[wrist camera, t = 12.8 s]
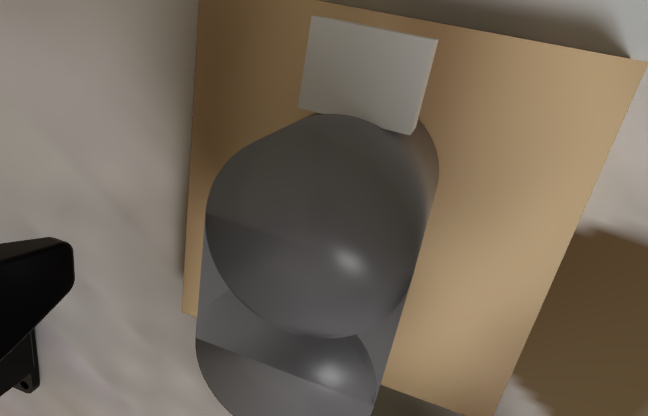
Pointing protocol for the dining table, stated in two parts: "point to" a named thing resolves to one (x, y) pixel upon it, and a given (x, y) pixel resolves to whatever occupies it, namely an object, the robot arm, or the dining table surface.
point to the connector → (320, 232)
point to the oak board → (454, 174)
